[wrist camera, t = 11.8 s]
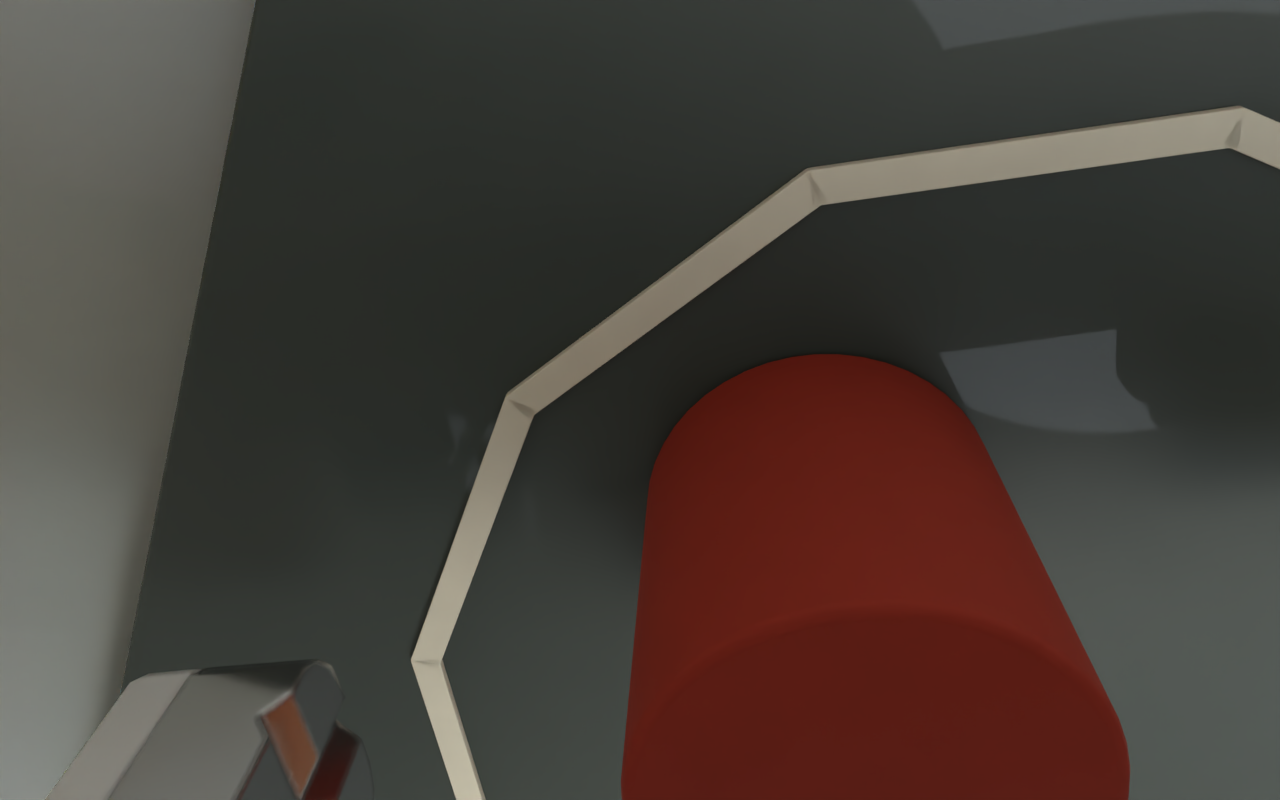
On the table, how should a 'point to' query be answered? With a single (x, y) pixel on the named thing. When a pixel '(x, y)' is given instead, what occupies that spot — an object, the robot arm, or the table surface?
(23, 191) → the table surface
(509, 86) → the slate board
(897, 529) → the red cylinder
